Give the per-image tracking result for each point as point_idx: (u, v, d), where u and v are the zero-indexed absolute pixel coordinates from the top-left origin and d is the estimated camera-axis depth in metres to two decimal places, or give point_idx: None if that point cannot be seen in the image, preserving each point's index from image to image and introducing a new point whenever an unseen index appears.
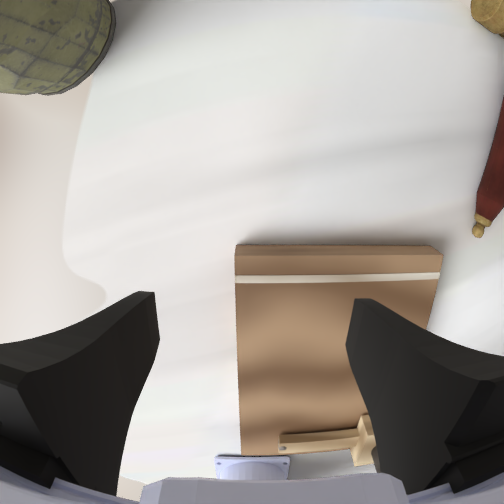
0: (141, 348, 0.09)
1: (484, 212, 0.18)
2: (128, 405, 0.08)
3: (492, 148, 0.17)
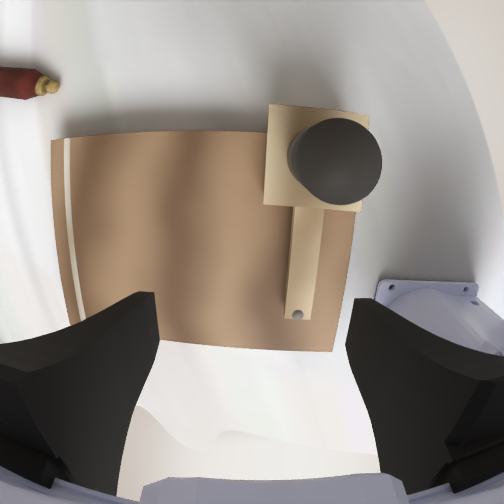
0: (141, 348, 0.09)
1: (32, 92, 0.17)
2: (128, 405, 0.08)
3: None
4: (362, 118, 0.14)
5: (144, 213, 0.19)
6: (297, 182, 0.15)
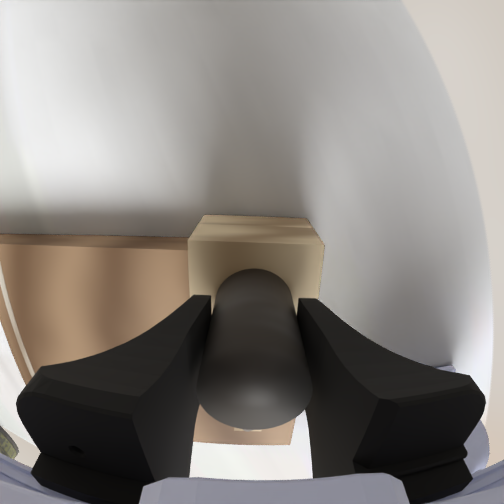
0: None
1: None
2: (194, 414, 0.08)
3: None
4: (315, 250, 0.12)
5: (81, 329, 0.16)
6: None
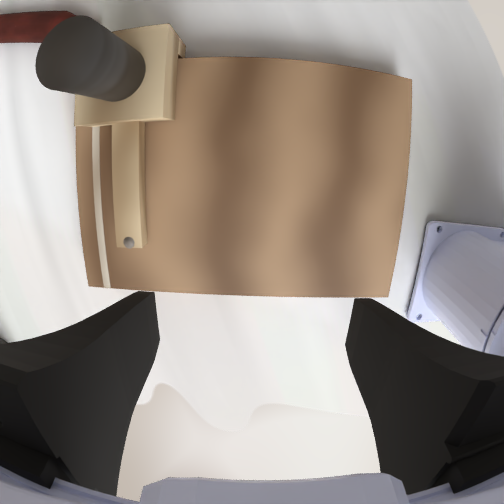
0: (141, 348, 0.09)
1: None
2: (128, 405, 0.08)
3: (22, 42, 0.15)
4: (162, 27, 0.12)
5: (189, 143, 0.17)
6: (101, 99, 0.13)
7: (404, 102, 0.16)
